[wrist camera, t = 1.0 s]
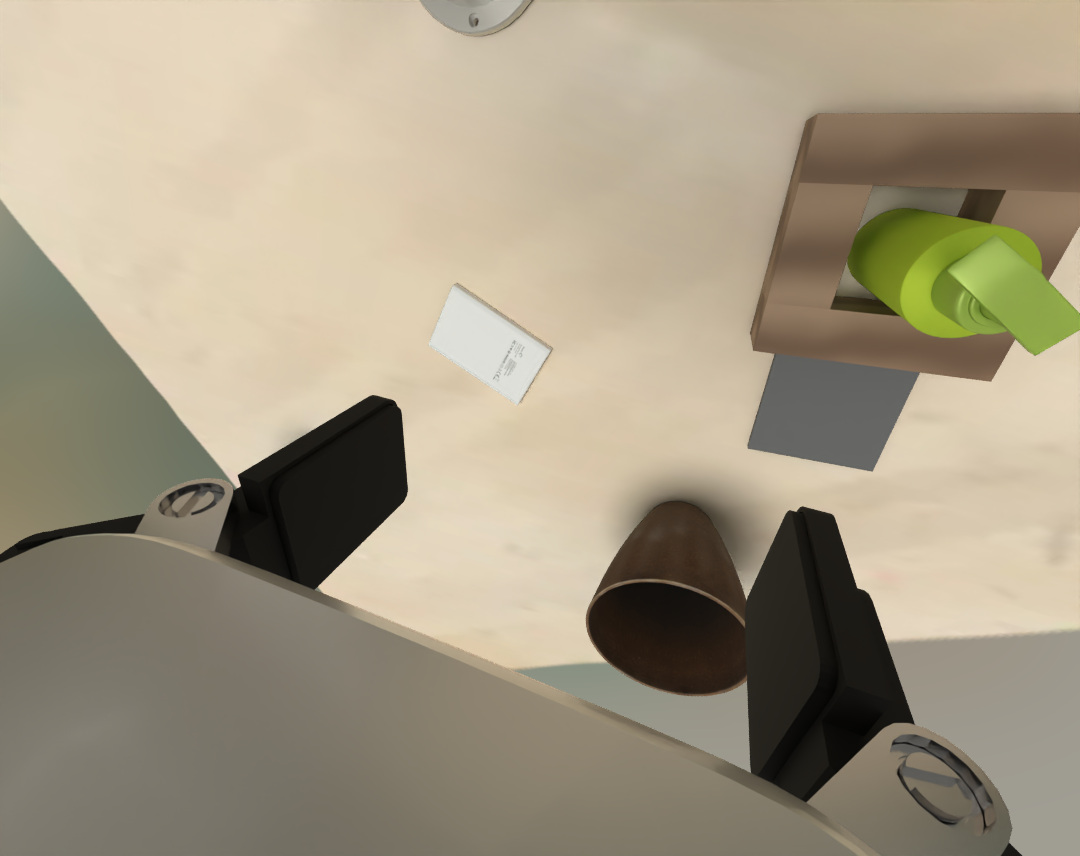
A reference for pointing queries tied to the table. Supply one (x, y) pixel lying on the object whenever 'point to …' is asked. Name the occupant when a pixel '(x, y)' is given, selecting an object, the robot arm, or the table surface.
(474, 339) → the external hard drive
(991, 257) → the soap dispenser
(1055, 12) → the table surface
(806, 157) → the socket block
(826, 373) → the rubber mat
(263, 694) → the robot arm
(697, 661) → the plant pot
